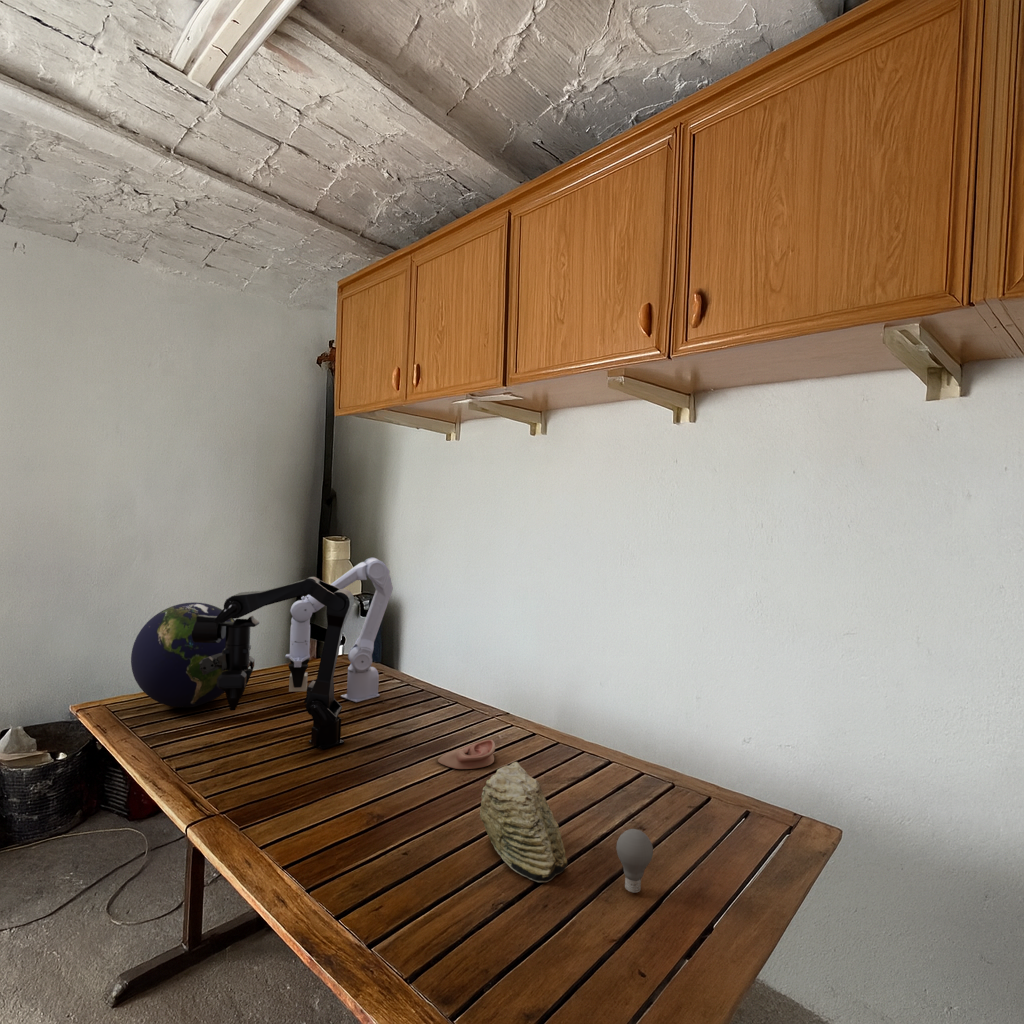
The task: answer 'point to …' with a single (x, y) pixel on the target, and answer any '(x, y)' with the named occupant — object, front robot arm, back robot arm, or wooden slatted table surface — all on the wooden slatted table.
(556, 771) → the wooden slatted table surface
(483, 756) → the anatomical model
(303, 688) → the block
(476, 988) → the wooden slatted table surface
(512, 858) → the fossil
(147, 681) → the globe
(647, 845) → the light bulb
